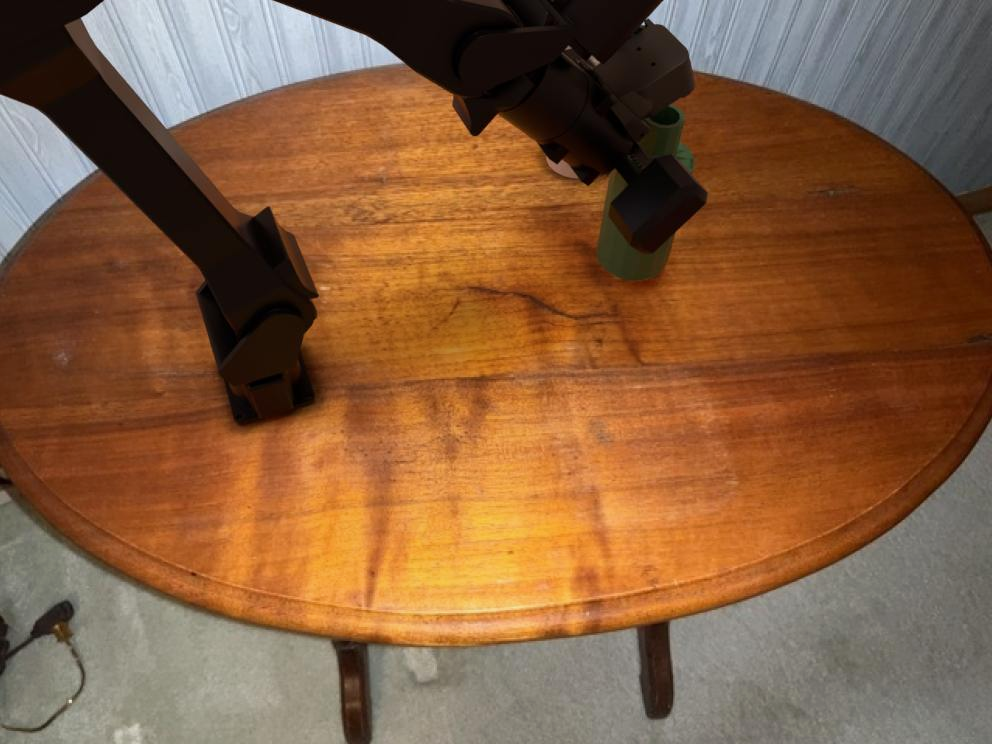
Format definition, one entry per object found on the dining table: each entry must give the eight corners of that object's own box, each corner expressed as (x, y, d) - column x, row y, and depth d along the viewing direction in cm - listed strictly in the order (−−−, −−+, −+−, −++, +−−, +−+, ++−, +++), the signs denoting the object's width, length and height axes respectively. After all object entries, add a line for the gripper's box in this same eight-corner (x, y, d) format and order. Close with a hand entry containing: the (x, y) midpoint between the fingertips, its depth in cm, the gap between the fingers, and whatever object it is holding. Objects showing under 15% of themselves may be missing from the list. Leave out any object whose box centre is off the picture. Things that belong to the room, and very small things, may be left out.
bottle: (583, 260, 74) (605, 119, 62) (619, 220, 77) (647, 80, 65) (645, 291, 72) (681, 152, 60) (679, 250, 75) (720, 110, 63)
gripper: (717, 86, 49) (806, 185, 61) (574, -58, 59) (674, 51, 71) (584, 220, 53) (692, 287, 65) (472, 64, 63) (583, 147, 75)
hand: (660, 186), depth 69 cm, fingers closed on bottle, 6 cm apart
